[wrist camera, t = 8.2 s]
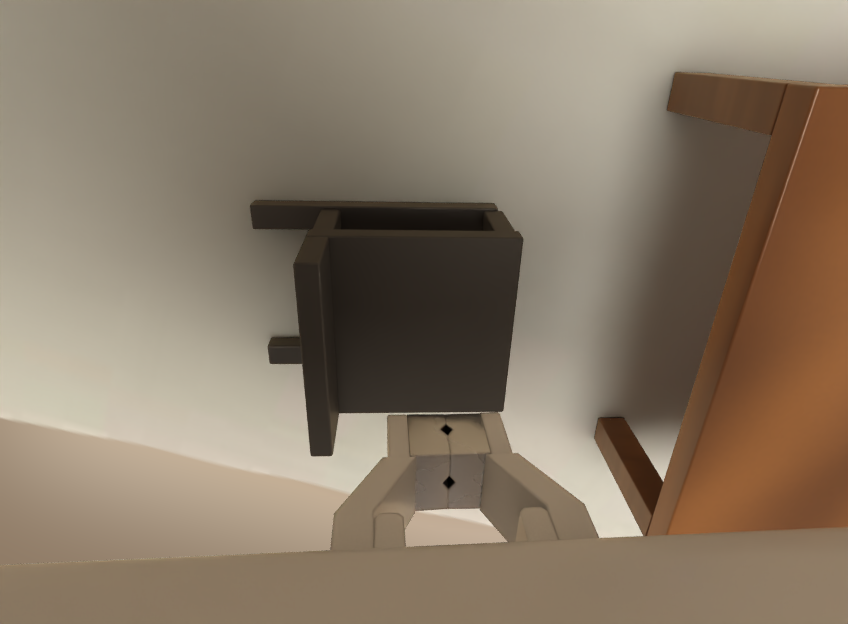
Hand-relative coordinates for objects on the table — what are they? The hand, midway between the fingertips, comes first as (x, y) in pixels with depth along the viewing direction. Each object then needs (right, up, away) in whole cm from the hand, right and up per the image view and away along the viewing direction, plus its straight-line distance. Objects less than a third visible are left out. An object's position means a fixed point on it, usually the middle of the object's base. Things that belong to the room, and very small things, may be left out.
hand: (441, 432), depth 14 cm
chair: (-2, +4, +10) cm, 11 cm away
